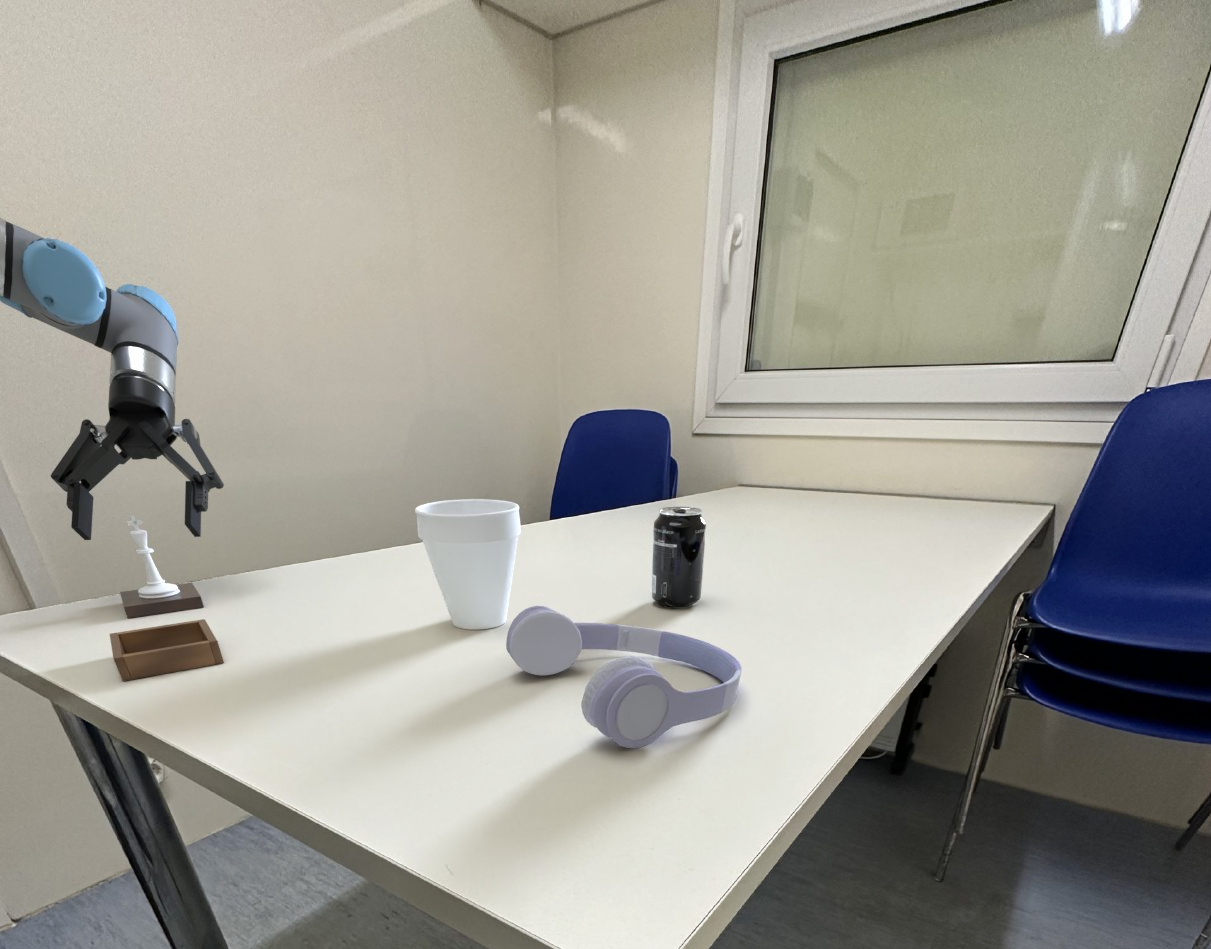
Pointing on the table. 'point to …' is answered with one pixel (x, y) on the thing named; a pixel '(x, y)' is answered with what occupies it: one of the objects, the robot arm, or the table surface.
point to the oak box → (164, 649)
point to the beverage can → (678, 556)
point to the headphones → (625, 673)
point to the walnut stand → (161, 602)
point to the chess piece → (150, 566)
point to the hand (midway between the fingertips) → (137, 532)
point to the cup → (472, 556)
